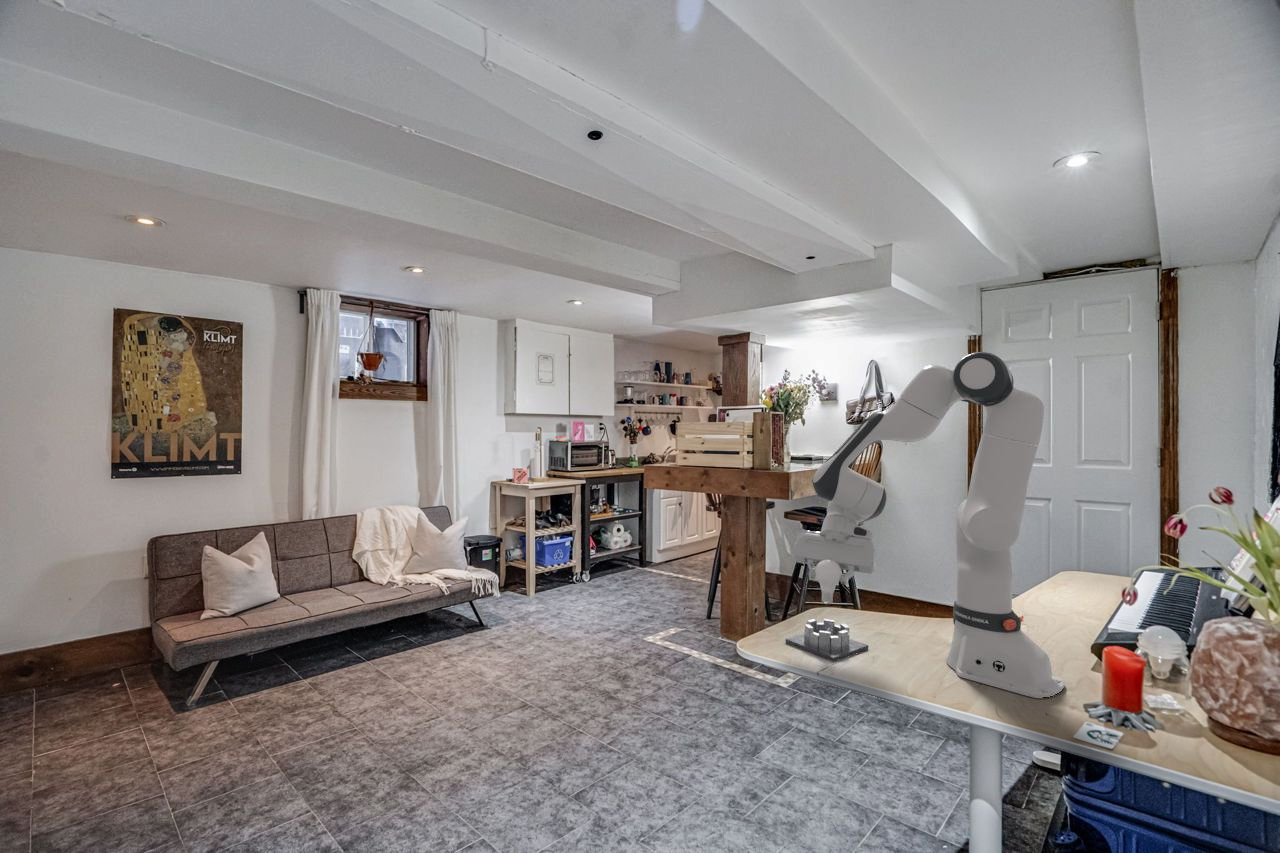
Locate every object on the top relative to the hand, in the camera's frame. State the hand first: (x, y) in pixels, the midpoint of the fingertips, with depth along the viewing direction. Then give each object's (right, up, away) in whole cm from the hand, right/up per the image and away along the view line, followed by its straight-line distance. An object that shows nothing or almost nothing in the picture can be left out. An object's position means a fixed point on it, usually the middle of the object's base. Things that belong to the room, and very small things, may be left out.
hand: (827, 580), depth 147 cm
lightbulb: (0, -6, +1) cm, 6 cm away
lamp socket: (0, -16, +1) cm, 16 cm away
